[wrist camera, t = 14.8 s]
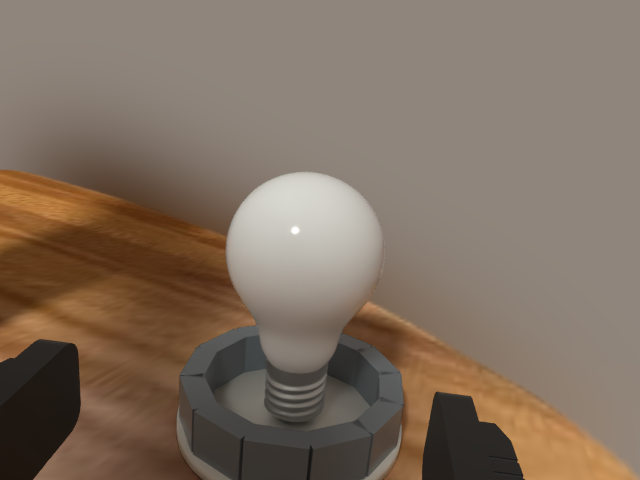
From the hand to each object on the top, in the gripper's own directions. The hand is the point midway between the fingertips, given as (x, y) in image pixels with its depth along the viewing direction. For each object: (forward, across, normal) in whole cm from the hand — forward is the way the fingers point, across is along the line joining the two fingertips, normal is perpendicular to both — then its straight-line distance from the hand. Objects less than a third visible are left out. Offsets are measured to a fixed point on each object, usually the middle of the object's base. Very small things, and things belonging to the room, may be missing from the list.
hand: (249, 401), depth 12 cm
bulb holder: (+11, 0, +9) cm, 14 cm away
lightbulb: (+11, 0, +8) cm, 13 cm away
